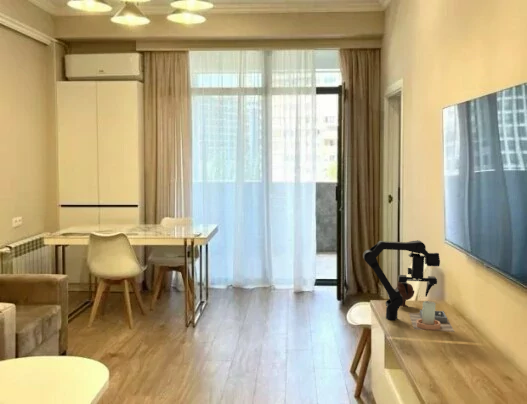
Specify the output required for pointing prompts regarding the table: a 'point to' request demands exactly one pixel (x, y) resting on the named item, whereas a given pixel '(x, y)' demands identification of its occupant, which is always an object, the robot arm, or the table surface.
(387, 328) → the table surface
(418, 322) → the terracotta dish
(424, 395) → the table surface
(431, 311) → the pale green tall cylinder
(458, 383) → the table surface
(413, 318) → the walnut board
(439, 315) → the parts tray
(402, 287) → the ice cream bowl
